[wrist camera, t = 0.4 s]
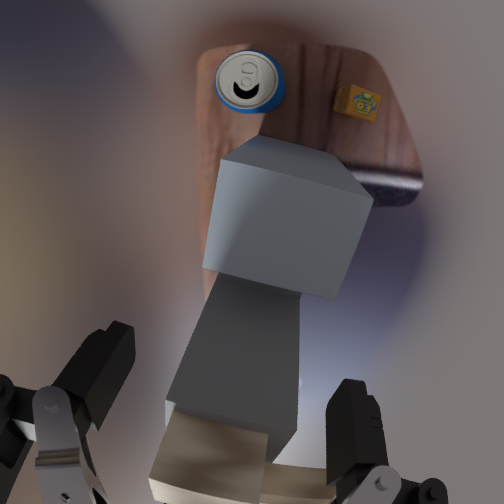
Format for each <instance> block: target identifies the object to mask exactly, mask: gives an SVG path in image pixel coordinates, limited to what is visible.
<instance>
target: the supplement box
mask: <svg viewBox="0 0 504 504" xmlns="http://www.w3.org/2000/svg"><path fill="white" fill-rule="evenodd" d="M381 99H382V95H380V94H376V93H374V92H371V91H368V90H366V89H363V88H360V87H358V86H356V85H353V84H351V85H347V86H344V87H341V88H338V89H337V92H336V97H335V101H334V106H333V111H336V112H338V113H341V114H344V115H348V116H351V117H354V118H358V119H362V120H365V121H369V122H372V123H374V122H375V119H376V116H377V112H378V108H379V105H380V102H381Z"/></svg>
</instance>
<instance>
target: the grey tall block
mask: <svg viewBox="0 0 504 504" xmlns="http://www.w3.org/2000/svg"><path fill="white" fill-rule="evenodd" d="M373 201H374V199H373V198H372V197H371V196H370V195H369V193H368V192H367V191H366V190H365V189H364V188H363V187H362V185H361V184H360V183H359V182H358V181H357V180H356V179H355V178H354V176H353V175H352V174H351V173H350V172H349V171H348V170H347V169H346V168H345V167H344V165H343V164H342V163H341V162H340V161H339V160H338V159H337V158H336V157H335V156H334V155H333V154H330V153H327V152H323V151H320V150H316V149H313V148H309V147H306V146H302V145H298V144H294V143H290V142H286V141H282V140H278V139H274V138H270V137H266V136H261V135H257V136H255V137H253V138H252V139H250V140H249V141H247V142H246V143H244V144H243V145H241V146H240V147H238V148H237V149H235V150H234V151H232V152H231V153H229V154H228V155H226V156H225V157H224V158H222V159H221V163H220V168H219V173H218V179H217V184H216V189H215V195H214V200H213V206H212V212H211V218H210V224H209V230H208V236H207V242H206V248H205V254H204V261H203V267H202V268H206V269H210V270H213V271H217V272H221V273H225V274H229V275H233V276H237V277H241V278H244V279H248V280H252V281H256V282H260V283H264V284H268V285H272V286H276V287H281V288H285V289H289V290H293V291H297V292H301V293H306V294H309V295H314V296H318V297H322V298H327V299H331V300H335V298H336V296H337V293H338V291H339V289H340V286H341V284H342V282H343V279H344V277H345V275H346V272H347V270H348V267H349V265H350V262H351V260H352V257H353V255H354V252H355V249H356V247H357V245H358V242H359V239H360V237H361V234H362V231H363V229H364V226H365V223H366V221H367V218H368V215H369V212H370V209H371V207H372V204H373Z"/></svg>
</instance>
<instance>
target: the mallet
mask: <svg viewBox="0 0 504 504" xmlns="http://www.w3.org/2000/svg"><path fill="white" fill-rule="evenodd" d="M267 441H268V434H267V433H261V432H256V431H251V430H246V429H241V428H237V427H232V426H228V425H224V424H220V423H216V422H212V421H208V420H204V419H201V418H197V417H193V416H190V415H186V414H183V413H180V412H177V411H173V412H172V415H171V417H170V420H169V423H168V425H167V428H166V431H165V433H164V436H163V439H162V442H161V444H160V447H159V450H158V453H157V455H156V458H155V461H154V463H153V466H152V469H151V472H150V475H149V477H148V479H149V482H150V485H151V489H152V492H153V496H154V499H155V500H157V501H161V502H164V503H167V504H259V503H267V504H328V503H329V502H330V501H331V499H332V498H333V497H334V496H335V495H336V486H326V469H318V468H306V467H296V466H288V465H280V464H273V463H267V462H265V457H266V449H267Z"/></svg>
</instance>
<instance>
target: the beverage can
mask: <svg viewBox="0 0 504 504" xmlns="http://www.w3.org/2000/svg"><path fill="white" fill-rule="evenodd" d="M215 89H216V93H217V95H218V97H219V99H220V100H221V101H222V102H223V103H224V104H225V105H226V106H227V107H228V108H230V109H232V110H234V111H236V112H240V113H247V114H254V113H267V112H270V111H272V110H274V109H275V108H277V107H278V106H279V105H280V104H281V102H282V101H283V99H284V97H285V93H286V85H285V81H284V77H283V73H282V70H281V68H280V66H279V64H278V63H277V62H276V61H275V60H274V59H273V58H272V57H271V56H270V55H268V54H266V53H264V52H261V51H258V50H242V51H238V52H235V53H233V54H231V55H230V56H228V57H227V58H226V59H224V60H223V62H222V63H221V64H220V66H219V67H218V69H217V71H216V74H215Z"/></svg>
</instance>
